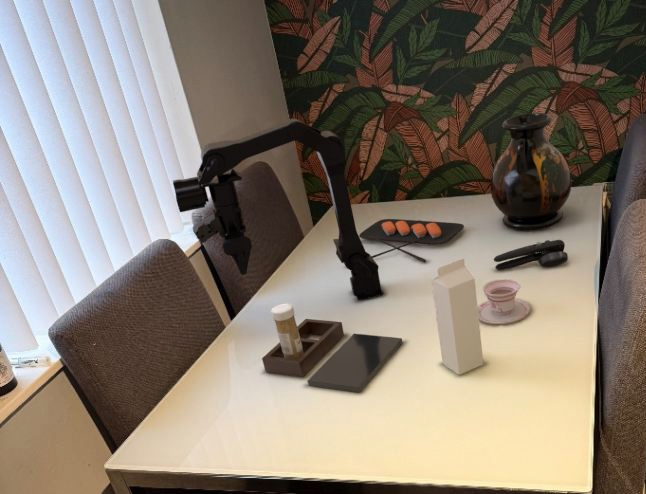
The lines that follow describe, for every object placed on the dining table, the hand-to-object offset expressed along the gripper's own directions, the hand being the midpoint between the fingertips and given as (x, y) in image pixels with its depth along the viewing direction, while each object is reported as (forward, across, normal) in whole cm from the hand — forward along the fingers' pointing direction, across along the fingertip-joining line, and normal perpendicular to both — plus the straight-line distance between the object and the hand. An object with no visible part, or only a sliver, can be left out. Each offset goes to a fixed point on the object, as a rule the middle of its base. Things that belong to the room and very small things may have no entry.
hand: (241, 267), depth 177 cm
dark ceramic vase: (+13, -18, +81) cm, 84 cm away
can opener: (+13, +8, +68) cm, 70 cm away
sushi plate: (+14, -25, +43) cm, 52 cm away
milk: (+14, +44, +37) cm, 60 cm away
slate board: (+14, +33, +18) cm, 40 cm away
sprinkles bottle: (+15, +25, +6) cm, 30 cm away
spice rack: (+14, +22, +9) cm, 28 cm away
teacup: (+13, +28, +53) cm, 61 cm away
